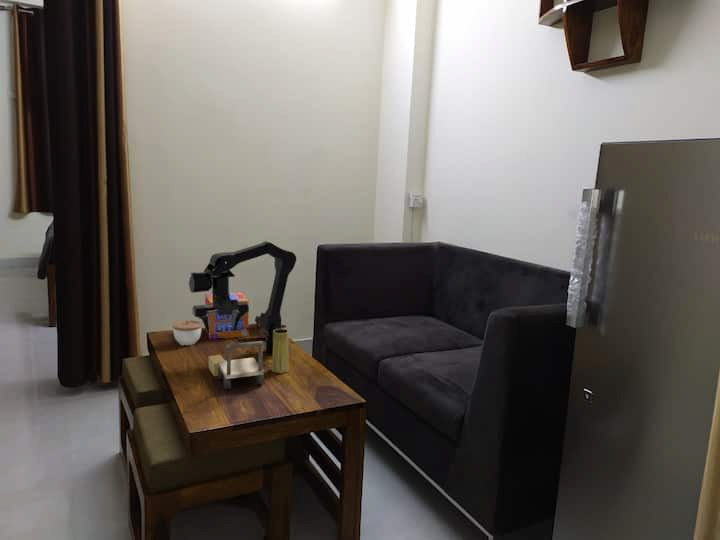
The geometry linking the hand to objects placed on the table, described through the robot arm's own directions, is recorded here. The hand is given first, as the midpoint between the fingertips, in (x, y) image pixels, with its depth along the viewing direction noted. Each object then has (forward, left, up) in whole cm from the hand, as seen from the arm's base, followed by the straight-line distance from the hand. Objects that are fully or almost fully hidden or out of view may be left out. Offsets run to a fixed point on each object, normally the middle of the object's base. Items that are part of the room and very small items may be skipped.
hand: (221, 332), depth 191 cm
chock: (+3, +9, -11) cm, 15 cm away
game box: (-9, -33, -11) cm, 36 cm away
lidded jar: (+8, -24, -11) cm, 28 cm away
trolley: (-2, +21, -11) cm, 24 cm away
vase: (-17, +16, -11) cm, 26 cm away
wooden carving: (-23, -21, -11) cm, 33 cm away
